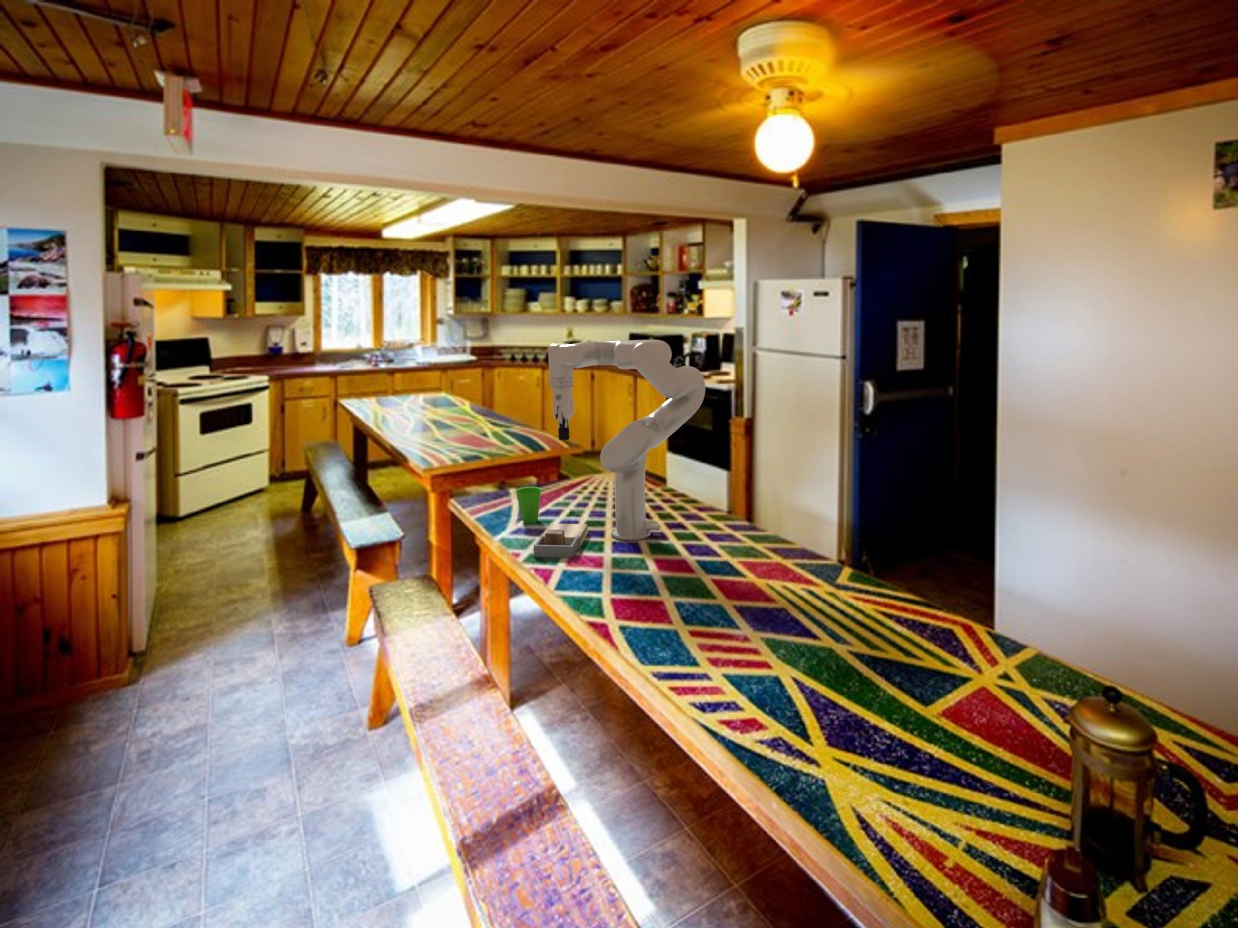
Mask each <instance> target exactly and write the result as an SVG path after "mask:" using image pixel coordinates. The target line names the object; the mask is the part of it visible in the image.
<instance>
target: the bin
mask: <svg viewBox="0 0 1238 928" xmlns="http://www.w3.org/2000/svg"><path fill="white" fill-rule="evenodd" d="M579 549H580V547H579V536H576V537H575V539H574V540H573V542H572V544H571V545H544V535H543V534H541V535H540V536H539V538H538V539H537V540H536V541H535V543H534V545H533V556H534V557H533V558H552V559H553V558H556V559H557V558H558V559H559V558H561V559H562V558H563V559H567V558H568V559H573V558H574V557H575V555H577V554H576V553H577V552H578V550H579Z"/></svg>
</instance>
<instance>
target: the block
mask: <svg viewBox="0 0 1238 928" xmlns="http://www.w3.org/2000/svg"><path fill="white" fill-rule="evenodd" d="M545 531H546V530H545ZM545 545H565V535H564V530H555V529H548V530H547V531H546V533H545Z"/></svg>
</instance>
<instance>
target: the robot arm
mask: <svg viewBox="0 0 1238 928" xmlns="http://www.w3.org/2000/svg"><path fill="white" fill-rule="evenodd" d="M547 349H548V351H547V355H548V370H549V371H548V372H549V388H550V389H552V409H553V410H552V411H553V418H554V420H557V427H558V440H559V441H569V440H570V436H571V435H570V419H571V418H572V417H573V416H574V415H575V407H574V406H575V405H574V397H573V396H574V393H573V388H575V385H574V369H581V368H586V367H592V366H616V367H617V368H618V369H621V370H636V371H637V372H638V373H639V374H640V375H641V376H643V378H644V379H645V380H646V381H647V382H648V383H649V384H650V385H651V386H652V387H653V388H654V389H655V390H656V391H657V392H658V393H659V394H660V395H662V396H663V397H665V398H667V400H666V401H664V402H663V403H662V404H661V405H660V406H659V407H658V408H657V409H655V410H654V411H652V413H650V414H649V415H647V416H644V417H642V418H639V419H636V420H634V421H632V422H630V423H629V424H627V425H626V426H625V427H624V428H623V429H622V430H620V432H618V433H617V434H616V435H614V436H613V437H612V438H611V439H610V440H609V441H608V442H607V443H606V444H605V445H603V447H602V449H601V451H600V457H599V458H600V464H601V465H602V467H603V468H604V470H606V471H608V472H610V473H612V474H613V473H614V509H615V510H614V511H615V513H614V514H615V527H613V528H612V529H611V531H610V535H611V537H612V538H614V539H617V540H620V541H621V540H622V541H637V540H644V539H646V538H648V537H650V536H651V534H652V533H651V532H652V531H659V532H660V530H661V529H660V528H661V525H660V524H659V523H657V522H649V521H648V518H647V517H646V466H647V458H648V452H649V451H650V450H652V449H655V448H656V447H659V446H660V445H661V444H663V442H665V440H666V439H668V438H669V437H670V436H671V435H673V434H674V433H675V432H676V431H677V430H679V428H680V427H682V425H684V424H685V423H686V422H687V421H688V420H690V419H691V418H692V417H693V416H694V414H696V413H697V411H698V410H699V409H700V407H701V405H702V404H703V401H704V398H705V395H706V382H705V378H704V375H703V374H702V371H700V370H699V369H698V368H696V367H694V366H688V365H683V366H680V367H675V366H673V364H671V362H670V361H671V360H672V354H673V353H672V349H671V347H670V345H669V343H667V342H665V341H664V340H659V339H635V340H634V339H632V340H630V339H629V340H628V339H627V340H624V339H623V340H615V341H611V340H610V341H609V340H608V341H606V340H604V341H602V340H601V341H584V342H577V343H572V344H570V343H566V342H564V343H563V342H560V343H559V342H558V343H557V342H556V343H551V344H549V345H548V348H547Z"/></svg>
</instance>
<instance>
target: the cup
mask: <svg viewBox="0 0 1238 928" xmlns="http://www.w3.org/2000/svg"><path fill="white" fill-rule="evenodd" d="M542 491H543V489H542V488H541V487H538V486H525V487H524V486H523V487H519V488H517V489H515V490H514V492H515V494H516V498H517V502H518V507H519V512H520V516H521V520H522V522H523V523H524V524H534V523H537V522H538V520H539V512H540V504H541V495H542Z"/></svg>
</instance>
